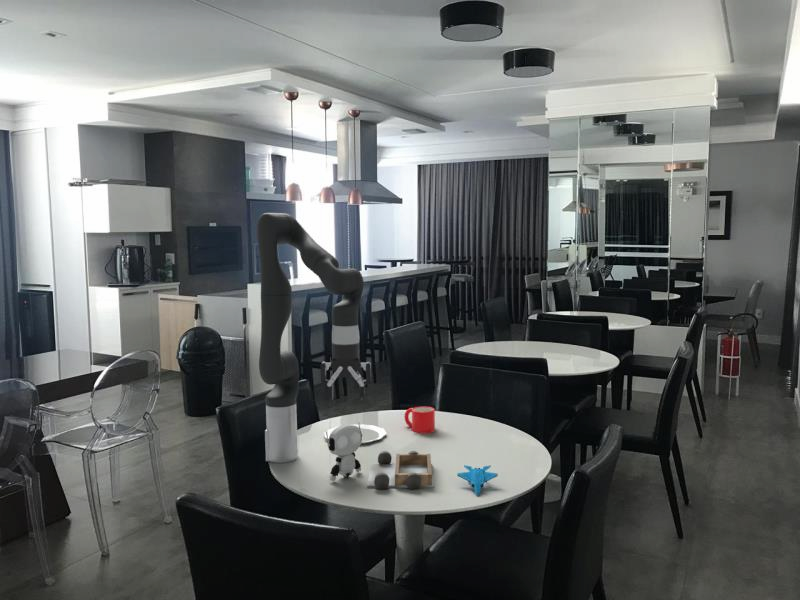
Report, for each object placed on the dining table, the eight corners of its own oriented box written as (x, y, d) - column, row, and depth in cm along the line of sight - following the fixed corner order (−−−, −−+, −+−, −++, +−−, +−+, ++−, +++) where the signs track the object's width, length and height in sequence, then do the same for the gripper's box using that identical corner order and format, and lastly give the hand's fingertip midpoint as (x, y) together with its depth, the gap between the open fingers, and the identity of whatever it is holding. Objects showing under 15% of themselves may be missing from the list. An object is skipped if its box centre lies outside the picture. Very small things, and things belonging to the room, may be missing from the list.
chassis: (366, 489, 177) (366, 475, 176) (371, 464, 197) (371, 451, 196) (434, 489, 176) (433, 475, 176) (431, 463, 196) (431, 450, 196)
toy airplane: (453, 482, 182) (452, 467, 181) (482, 475, 186) (482, 460, 185) (477, 496, 171) (476, 481, 171) (508, 488, 176) (507, 473, 175)
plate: (312, 437, 225) (312, 432, 225) (360, 425, 238) (360, 420, 238) (349, 451, 209) (348, 446, 209) (398, 438, 223) (398, 433, 223)
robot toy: (335, 485, 180) (334, 432, 179) (325, 481, 183) (323, 429, 182) (368, 474, 189) (367, 422, 187) (358, 470, 192) (357, 419, 190)
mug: (410, 425, 237) (410, 403, 236) (439, 430, 230) (438, 408, 229) (398, 430, 231) (397, 408, 230) (426, 436, 224) (426, 413, 223)
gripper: (317, 343, 178) (318, 402, 180) (370, 343, 178) (371, 402, 180) (321, 338, 186) (322, 395, 188) (372, 338, 186) (372, 395, 187)
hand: (346, 399), depth 184 cm, fingers open, 7 cm apart
